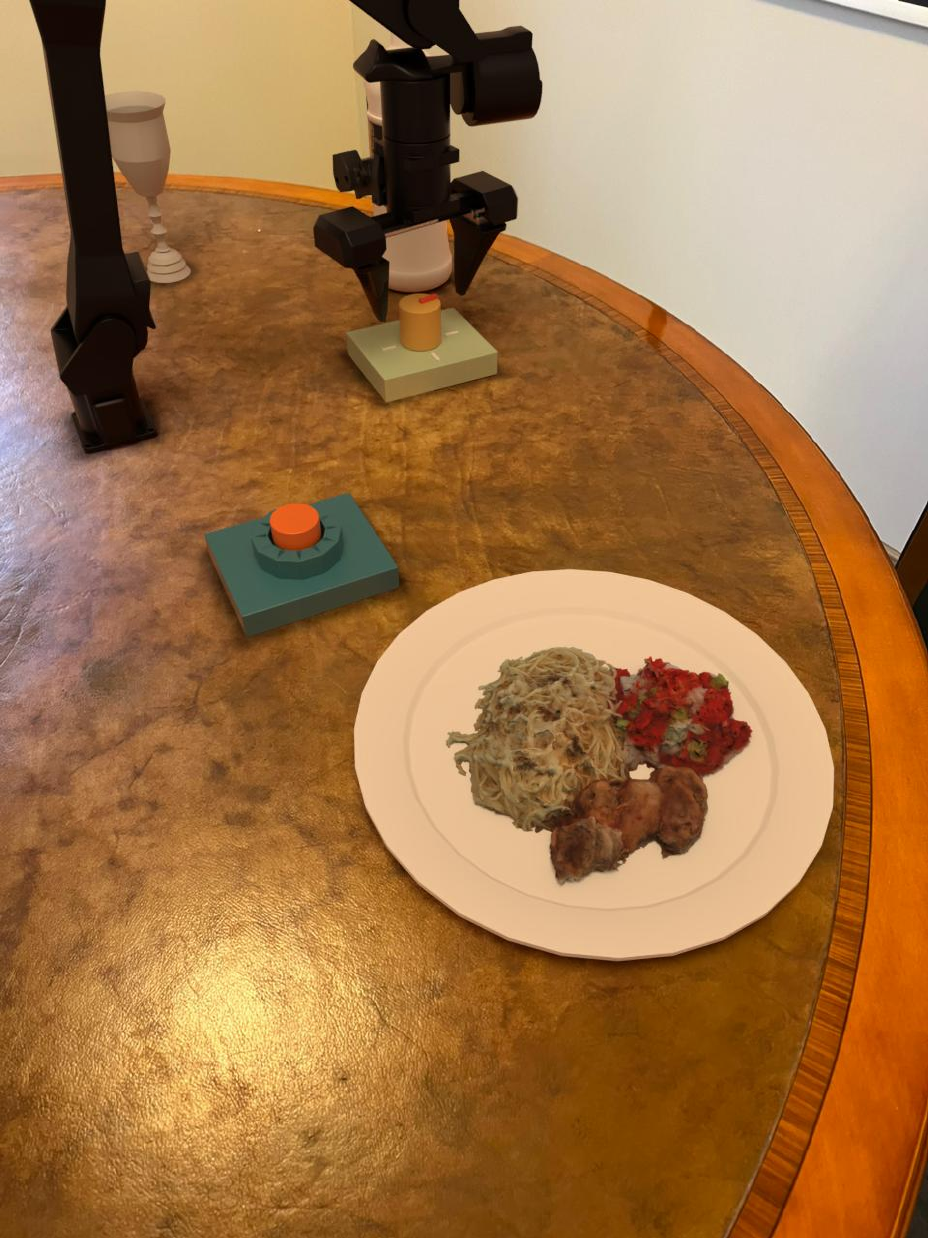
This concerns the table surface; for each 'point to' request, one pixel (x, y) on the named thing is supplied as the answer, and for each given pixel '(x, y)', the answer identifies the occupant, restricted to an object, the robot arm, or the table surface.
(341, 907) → the table surface
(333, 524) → the teal button base
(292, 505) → the button
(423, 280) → the vodka
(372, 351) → the panel
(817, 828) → the plated food
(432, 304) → the lock dial
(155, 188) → the chalice
